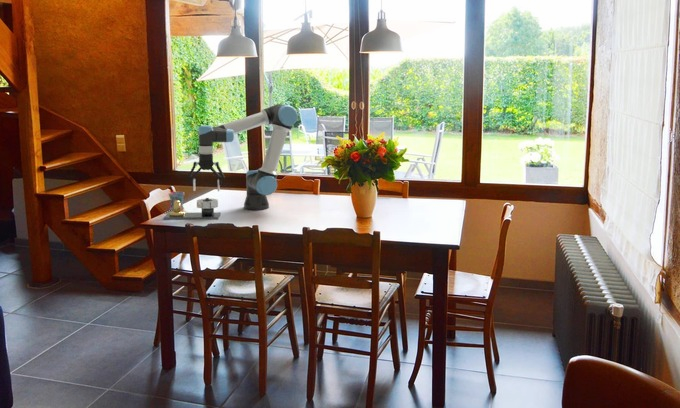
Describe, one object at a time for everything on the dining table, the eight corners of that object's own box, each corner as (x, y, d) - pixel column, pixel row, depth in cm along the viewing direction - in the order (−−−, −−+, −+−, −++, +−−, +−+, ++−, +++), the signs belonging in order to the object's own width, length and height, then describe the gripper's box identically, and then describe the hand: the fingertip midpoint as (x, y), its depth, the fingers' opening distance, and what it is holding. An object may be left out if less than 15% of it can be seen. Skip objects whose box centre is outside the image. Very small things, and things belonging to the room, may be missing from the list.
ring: (218, 204, 389) (218, 198, 388) (216, 208, 377) (216, 202, 377) (198, 204, 388) (198, 198, 387) (195, 208, 377) (195, 202, 376)
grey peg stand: (220, 214, 391) (220, 196, 389) (218, 219, 378) (217, 200, 376) (168, 214, 389) (167, 196, 387) (163, 219, 376) (163, 200, 374)
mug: (178, 212, 395) (177, 194, 393) (165, 211, 399) (164, 193, 397) (191, 209, 406) (190, 191, 403) (178, 207, 410) (178, 190, 407)
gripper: (229, 152, 381) (229, 189, 385) (184, 152, 380) (185, 189, 384) (227, 154, 374) (228, 192, 378) (182, 153, 372) (183, 191, 376)
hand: (206, 190), depth 381 cm, fingers open, 13 cm apart
